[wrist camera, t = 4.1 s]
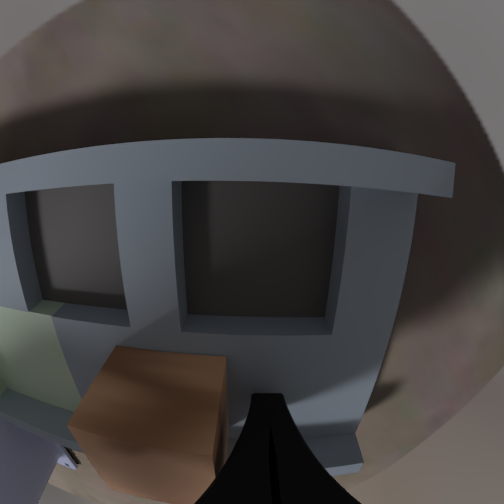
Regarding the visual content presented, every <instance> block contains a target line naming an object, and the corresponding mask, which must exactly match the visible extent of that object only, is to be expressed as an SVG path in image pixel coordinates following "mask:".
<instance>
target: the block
mask: <svg viewBox="0 0 504 504" xmlns="http://www.w3.org/2000/svg"><path fill="white" fill-rule="evenodd" d="M67 426H68V428H69V430H70V431H71V433H72V435H73V436H74V438H75V440H76V441H77V443H78V444H79V446H80V447H81V449H82V450H83V452H84V453H85V455H86V456H87V458H88V459H89V461H90V462H91V464H92V465H93V467H94V468H95V469H96V471H97V472H98V473H99V475H100V476H101V478H102V479H103V480H104V481H105V483H106V484H107V485H108V487H109V488H110V489H112V490H116V491H119V492H123V493H126V494H130V495H134V496H138V497H142V498H147V499H151V500H156V501H161V502H166V503H172V504H194V503H195V502H196V501H197V500H198V499H199V498H200V496H201V495H202V494H203V493H204V492H205V491H206V490H207V488H208V487H209V486H210V484H211V483H212V482H213V480H214V479H215V478H216V476H217V475H218V473H219V472H220V470H221V469H222V467H223V466H224V464H225V463H226V454H227V444H228V433H229V416H228V391H227V361H226V356H211V355H197V354H185V353H174V352H164V351H155V350H147V349H139V348H131V347H124V346H117V345H116V346H115V348H114V349H113V351H112V352H111V354H110V355H109V357H108V358H107V360H106V362H105V363H104V365H103V366H102V368H101V369H100V371H99V373H98V374H97V376H96V377H95V379H94V381H93V382H92V384H91V385H90V387H89V389H88V390H87V392H86V393H85V395H84V397H83V398H82V400H81V402H80V403H79V405H78V407H77V408H76V410H75V412H74V413H73V415H72V417H71V419H70V420H69V422H68V424H67Z"/></svg>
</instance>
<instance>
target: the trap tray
mask: <svg viewBox="0 0 504 504" xmlns="http://www.w3.org/2000/svg"><path fill="white" fill-rule="evenodd" d="M454 177H455V163H453V162H449V161H444V160H439V159H435V158H430V157H425V156H419V155H414V154H408V153H403V152H397V151H390V150H384V149H377V148H370V147H362V146H354V145H345V144H336V143H326V142H314V141H301V140H284V139H260V138H193V139H169V140H153V141H140V142H129V143H118V144H109V145H101V146H93V147H86V148H79V149H72V150H66V151H60V152H54V153H48V154H43V155H38V156H33V157H28V158H23V159H19V160H14V161H10V162H6V163H2V164H0V418H1V419H3V420H5V421H7V422H9V423H11V424H13V425H15V426H17V427H19V428H21V429H23V430H26V431H28V432H30V433H32V434H34V435H37V436H39V437H41V438H44V439H46V440H49V441H51V442H54V443H56V444H59V445H62V446H64V447H67V448H70V449H73V450H76V451H79V452H82V453H84V452H83V450H82V449H81V447H80V446H79V444H78V443H77V441H76V440H75V438H74V436H73V435H72V433H71V431H70V430H69V428H68V426H67V424H68V422H69V420H70V419H71V417H72V415H73V413H74V412H75V410H76V408H77V407H78V405H79V403H80V402H81V400H82V398H83V397H84V395H85V393H86V392H87V390H88V389H89V387H90V385H91V384H92V382H93V381H94V379H95V377H96V376H97V374H98V373H99V371H100V369H101V368H102V366H103V365H104V363H105V362H106V360H107V358H108V357H109V355H110V354H111V352H112V351H113V349H114V348H115V346H116V345H117V346H124V347H131V348H139V349H147V350H155V351H164V352H174V353H185V354H197V355H211V356H226V361H227V391H228V416H229V433H228V444H227V454H226V461H227V459H228V458H229V456H230V454H231V452H232V450H233V448H234V446H235V444H236V442H237V440H238V438H239V436H240V434H241V431H242V429H243V426H244V423H245V421H246V418H247V415H248V411H249V408H250V403H251V395H252V394H254V393H282V394H283V395H284V398H285V401H286V404H287V407H288V409H289V412H290V414H291V416H292V418H293V420H294V422H295V424H296V426H297V428H298V430H299V431H300V433H301V435H302V437H303V438H304V440H305V442H306V443H307V445H308V446H309V448H310V449H311V451H312V452H313V454H314V455H315V457H316V458H317V459H318V461H319V462H320V463H321V464H322V466H323V467H324V468H325V469H326V470H327V472H328V473H329V474H330V475H331V476H335V475H343V474H349V473H356V472H359V470H360V468H361V467H362V465H363V463H364V461H363V458H362V454H361V451H360V448H359V444H358V441H357V438H356V434H355V432H356V430H357V428H358V425H359V423H360V421H361V418H362V416H363V413H364V411H365V408H366V406H367V403H368V401H369V398H370V396H371V393H372V390H373V387H374V385H375V382H376V379H377V376H378V373H379V370H380V367H381V364H382V361H383V358H384V355H385V352H386V349H387V346H388V342H389V339H390V335H391V332H392V328H393V325H394V321H395V317H396V313H397V310H398V306H399V302H400V297H401V293H402V289H403V284H404V280H405V275H406V270H407V265H408V260H409V254H410V249H411V243H412V237H413V230H414V223H415V216H416V208H417V199H418V194H426V195H433V196H440V197H447V198H452V197H453V188H454Z"/></svg>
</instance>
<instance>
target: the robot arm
mask: <svg viewBox="0 0 504 504" xmlns="http://www.w3.org/2000/svg"><path fill="white" fill-rule="evenodd" d="M57 463H59V464H61V465H64V466H67V467H69V468H72V469H77V467H78V466H77V464H76V463H75V461H74V460H73V459H72V457H71V456H70V455H69V453H68V452H67V450H66V449H65V447H64V446H62V445H59V444H56V443H54V442H51V441H49V440H46V439H44V438H41V437H39V436H37V435H34V434H32V433H30V432H28V431H26V430H23V429H21V428H19V427H17V426H15V425H13V424H11V423H9V422H7V421H5V420H3V419H1V418H0V504H38V502H39V500H40V498H41V496H42V493H43V491H44V489H45V487H46V485H47V483H48V480H49V478H50V476H51V474H52V472H53V470H54V468H55V466H56V464H57ZM194 504H361V503H360V502H359V501H357V500H356V499H355V498H354V497H353V496H351V495H350V494H349V493H348V492H347V491H346V490H345V489H344V488H343V487H342V486H341V485H340V484H339V483H338V482H337V481H336V480H335V479H334V478H333V477H332V476H331V475H330V474H329V473H328V472H327V470H326V469H325V468H324V467H323V466H322V464H321V463H320V462H319V461H318V459H317V458H316V457H315V455H314V454H313V452H312V451H311V449H310V448H309V446H308V445H307V443H306V442H305V440H304V438H303V437H302V435H301V433H300V431H299V430H298V428H297V426H296V424H295V422H294V420H293V418H292V416H291V414H290V412H289V409H288V407H287V404H286V401H285V398H284V395H283V394H282V393H254V394H252V395H251V403H250V408H249V411H248V415H247V418H246V421H245V423H244V426H243V429H242V431H241V434H240V436H239V438H238V440H237V442H236V444H235V446H234V448H233V450H232V452H231V454H230V456H229V458H228V459H227V461H226V463H225V464H224V466H223V467H222V469H221V470H220V472H219V473H218V475H217V476H216V478H215V479H214V480H213V482H212V483H211V484H210V486H209V487H208V488H207V490H206V491H205V492H204V493H203V494H202V495H201V496H200V498H199V499H198V500H197V501H196V502H195V503H194Z"/></svg>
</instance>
